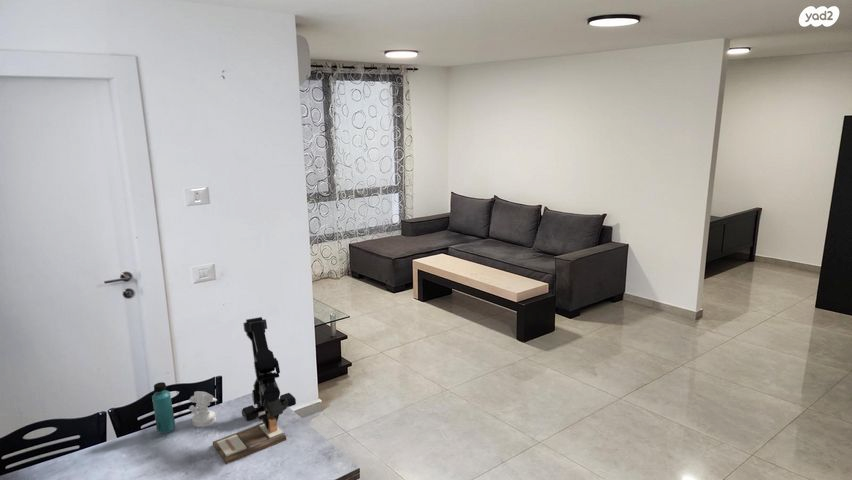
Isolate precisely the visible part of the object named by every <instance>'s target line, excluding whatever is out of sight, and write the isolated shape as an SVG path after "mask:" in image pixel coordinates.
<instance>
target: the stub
mask: <svg viewBox="0 0 852 480" xmlns="http://www.w3.org/2000/svg"><path fill="white" fill-rule="evenodd" d="M267 415H268V416H267V421H268V429H267V428H266V426H265V424H263V425H260V428H261V429H262V430H263V431H264V432H265V434H266V435H267V436H268V437H269V438H272V437H274V436H277V435H279V434H282V433H284V432H283V431H282V429H281V428H279V426H278V425H277V424H278V423H276V418H275V417H271V416H270V415H269V414H267Z"/></svg>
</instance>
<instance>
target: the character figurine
mask: <svg viewBox="0 0 852 480" xmlns="http://www.w3.org/2000/svg"><path fill="white" fill-rule="evenodd" d="M193 393H194V394H193V395H191V396H190V398H189V400H188V401H189V402H190V403H196V404H195V405H193V404H192V405H190V406H189V407H188V410H189V411H191V414H194V415H193V416H192V417H191V421H192V425H193V426H194V427H195V428H204V427H208V426H210V425H212V424H214V423H215V422H216V420H217V418H216V416H217V415H216V412H214V411H213V410H210V409H209V407H208V406H210V405H211V403H212V402H217V401H218V399H217V398H215V397H214V395H212V394H210V393H208V392H206V391H199V390H197V391H194V392H193Z"/></svg>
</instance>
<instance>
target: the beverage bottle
mask: <svg viewBox="0 0 852 480" xmlns="http://www.w3.org/2000/svg"><path fill="white" fill-rule="evenodd" d="M153 391H154V393H153V395H151V400H152V406H153V414H154V419H155V420H154V421H155V427H156V428H155V429H156V431H157V432H158V433H160V434H166V433H169V432H172V431H173V430H174V429H175V427H176V421H175V415H174V409H173V404H172V402H173V401H172V396H171V392H170V391H169V390H167V384H166V382H163V381H162V382H160V381H159V382H157V383H155V384H154V385H153Z"/></svg>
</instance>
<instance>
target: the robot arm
mask: <svg viewBox="0 0 852 480" xmlns="http://www.w3.org/2000/svg"><path fill="white" fill-rule="evenodd" d="M267 329H268V325H267V319H263V317H262V316H260V317H252V318H248V319H247V318H246V319H245V322H243V331H244V333H245V334H246V337H247V338H248V339H249V340H250V341H251V348H252V355H253V361H254V362H253V366H254V367H253V368H254V371H255V377H256V379H255V381H254V382H253V389H252V391H251V396H252V402H253V404H251V405H248V406H245V407H243V408H242V409H241V416H242V418H244V419H245V421H247V422H251V421H253V420H256V419H257V418H258V419H260V420H262V423H264V424H265V426H266V428H267V429H268V421H267V416H268V415H267V414H269V415H270V416H271V417H275V418H276V423H277V422H278V420H279V417H280V415H282V414H284V413H283V412H284V411H285V410H287V409H288V408H290V407H293V406H296V405H297V399H296V397H295V396H294V395H293V394H291V392H287V393H284V394H281V391H280V388H279V386H278V383H277V382H276V378H277V379H278V378H280V373H281V370H280V366H279V365H280V364H279V360H278V358H277V357H275V355H274V352H273V351H272V350H271V349H269V346H268V342H267V337H266V330H267ZM255 405H256V407H255ZM277 424H278V423H277Z"/></svg>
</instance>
